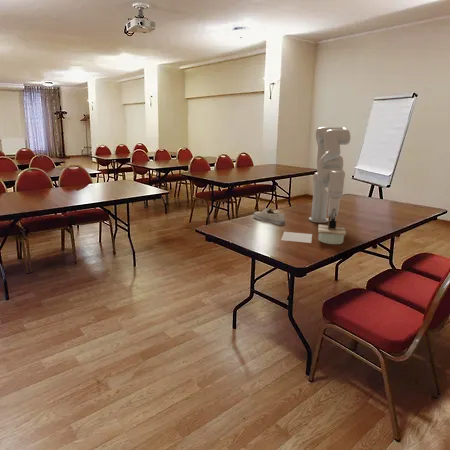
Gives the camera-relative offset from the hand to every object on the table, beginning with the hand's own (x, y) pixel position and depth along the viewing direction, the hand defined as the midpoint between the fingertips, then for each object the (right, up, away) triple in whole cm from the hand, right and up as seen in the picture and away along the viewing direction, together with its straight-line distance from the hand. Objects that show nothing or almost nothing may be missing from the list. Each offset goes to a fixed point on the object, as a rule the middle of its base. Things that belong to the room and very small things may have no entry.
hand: (332, 225), depth 198 cm
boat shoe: (-29, +3, +42) cm, 51 cm away
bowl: (0, -8, +2) cm, 9 cm away
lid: (0, -3, +1) cm, 3 cm away
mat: (-18, -7, +7) cm, 20 cm away
